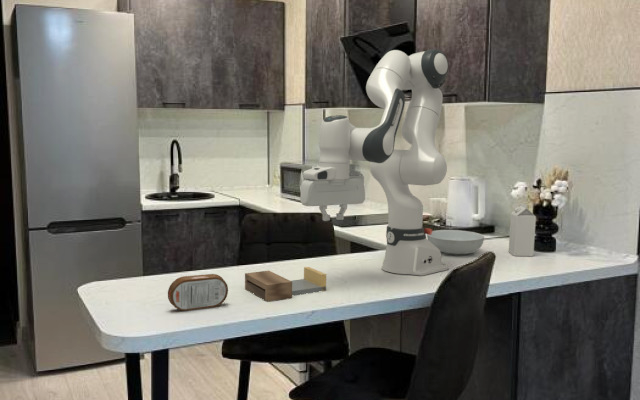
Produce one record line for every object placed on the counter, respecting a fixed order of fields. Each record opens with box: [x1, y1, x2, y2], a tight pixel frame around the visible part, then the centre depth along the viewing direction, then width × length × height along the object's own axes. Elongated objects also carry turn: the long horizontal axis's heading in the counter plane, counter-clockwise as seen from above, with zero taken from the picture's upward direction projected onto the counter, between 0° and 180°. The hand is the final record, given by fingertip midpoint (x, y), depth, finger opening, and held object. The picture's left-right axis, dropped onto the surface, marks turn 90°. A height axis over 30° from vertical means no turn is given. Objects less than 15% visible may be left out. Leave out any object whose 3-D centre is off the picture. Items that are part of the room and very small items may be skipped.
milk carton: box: [508, 202, 537, 257], centre depth 223 cm, size 7×7×19 cm
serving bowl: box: [426, 229, 485, 256], centre depth 225 cm, size 21×21×7 cm
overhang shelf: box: [244, 270, 293, 302], centre depth 165 cm, size 8×14×4 cm, turn 31°
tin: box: [167, 273, 229, 312], centre depth 151 cm, size 15×3×8 cm, turn 118°
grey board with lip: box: [291, 266, 327, 296], centre depth 171 cm, size 11×10×5 cm
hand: (333, 220), depth 174 cm, fingers open, 3 cm apart
